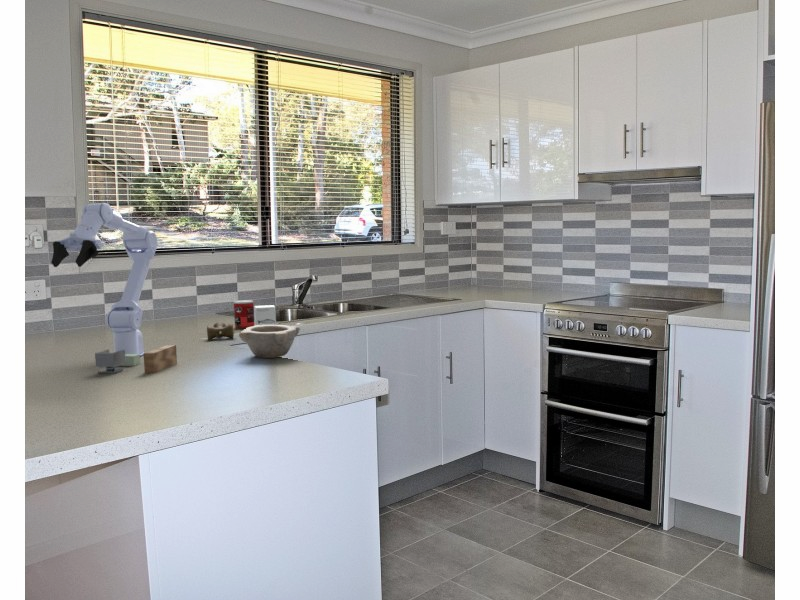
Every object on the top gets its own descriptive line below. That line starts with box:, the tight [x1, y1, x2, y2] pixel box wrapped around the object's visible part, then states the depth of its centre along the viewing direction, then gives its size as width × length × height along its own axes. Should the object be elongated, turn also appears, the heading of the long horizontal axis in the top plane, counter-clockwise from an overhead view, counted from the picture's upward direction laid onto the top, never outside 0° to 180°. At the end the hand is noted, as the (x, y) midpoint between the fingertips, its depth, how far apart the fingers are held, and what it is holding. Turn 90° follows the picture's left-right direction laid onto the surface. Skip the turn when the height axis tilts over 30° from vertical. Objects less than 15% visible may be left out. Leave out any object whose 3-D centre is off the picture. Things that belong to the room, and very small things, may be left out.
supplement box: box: [254, 304, 277, 326], centre depth 261 cm, size 7×7×13 cm
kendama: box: [206, 321, 235, 341], centre depth 270 cm, size 6×10×20 cm
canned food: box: [233, 299, 255, 329], centre depth 295 cm, size 8×8×11 cm
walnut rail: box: [143, 344, 178, 374], centre depth 214 cm, size 14×3×6 cm, turn 170°
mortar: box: [238, 324, 301, 359], centre depth 230 cm, size 17×17×9 cm
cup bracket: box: [94, 349, 126, 375], centre depth 211 cm, size 6×6×6 cm
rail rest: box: [118, 354, 141, 367], centre depth 221 cm, size 4×5×3 cm
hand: (65, 264), depth 203 cm, fingers open, 7 cm apart
